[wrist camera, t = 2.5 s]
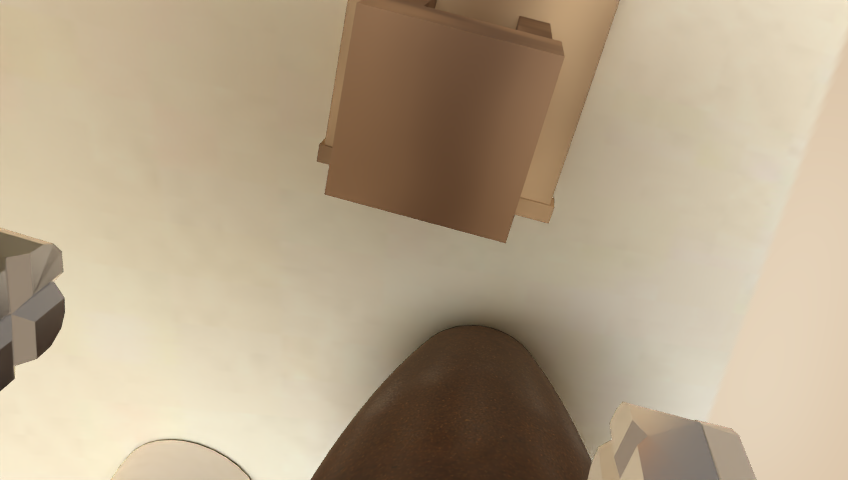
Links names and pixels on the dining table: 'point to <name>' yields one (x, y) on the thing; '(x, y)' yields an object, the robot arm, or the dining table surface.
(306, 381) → the dining table surface
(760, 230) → the dining table surface
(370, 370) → the dining table surface
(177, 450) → the toilet tissue
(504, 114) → the tan pegged block
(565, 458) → the plant pot
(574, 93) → the tan wooden pedestal
